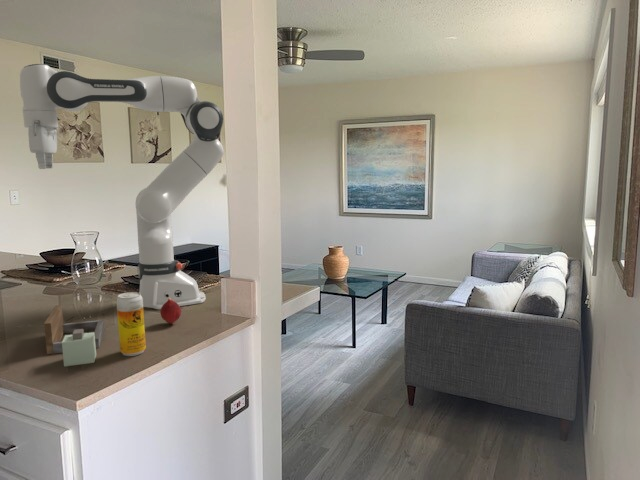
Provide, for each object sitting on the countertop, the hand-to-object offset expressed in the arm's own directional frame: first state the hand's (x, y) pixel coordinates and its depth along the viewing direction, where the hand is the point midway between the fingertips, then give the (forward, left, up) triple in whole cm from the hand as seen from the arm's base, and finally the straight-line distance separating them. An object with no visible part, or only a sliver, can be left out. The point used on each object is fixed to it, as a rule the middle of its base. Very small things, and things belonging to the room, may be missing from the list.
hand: (46, 168), depth 146 cm
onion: (-33, +22, -46) cm, 61 cm away
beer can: (-23, +41, -46) cm, 66 cm away
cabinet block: (-11, +42, -46) cm, 63 cm away
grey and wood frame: (-9, +27, -46) cm, 54 cm away
